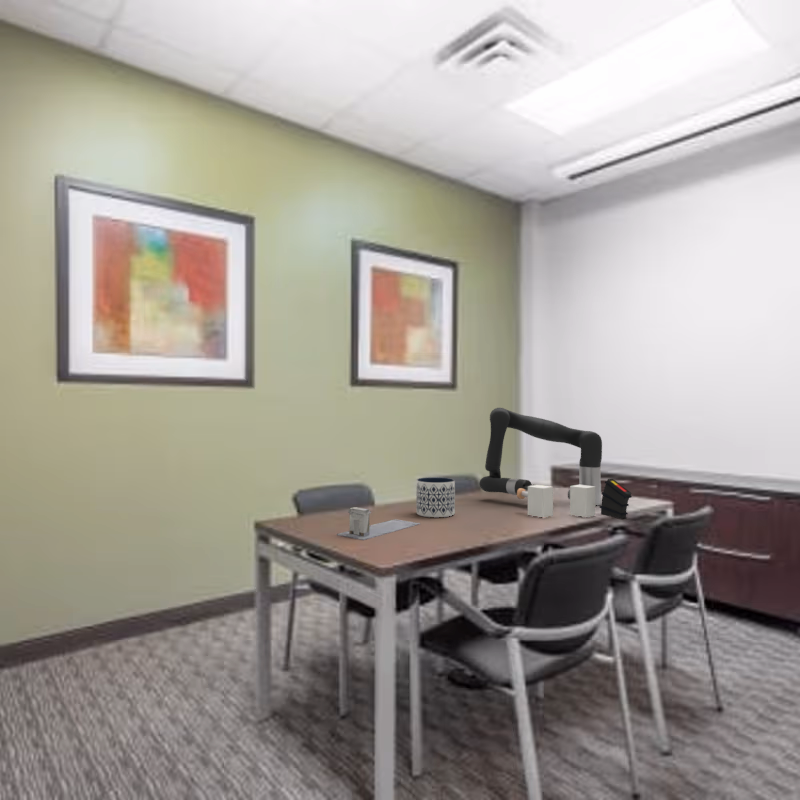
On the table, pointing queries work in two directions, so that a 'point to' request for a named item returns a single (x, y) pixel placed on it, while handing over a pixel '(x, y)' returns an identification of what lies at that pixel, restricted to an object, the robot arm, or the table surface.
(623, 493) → the magazine
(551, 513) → the block
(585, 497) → the block
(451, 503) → the planter
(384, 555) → the table surface
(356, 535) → the grey plate with block
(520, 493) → the knob
